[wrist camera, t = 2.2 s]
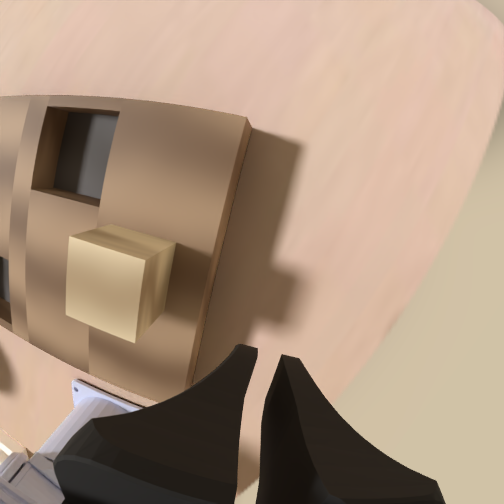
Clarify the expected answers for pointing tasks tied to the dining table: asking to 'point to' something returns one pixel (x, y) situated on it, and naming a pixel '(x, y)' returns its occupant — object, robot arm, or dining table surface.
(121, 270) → the maple block
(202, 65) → the dining table surface
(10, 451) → the holder
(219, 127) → the trap board
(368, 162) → the dining table surface
